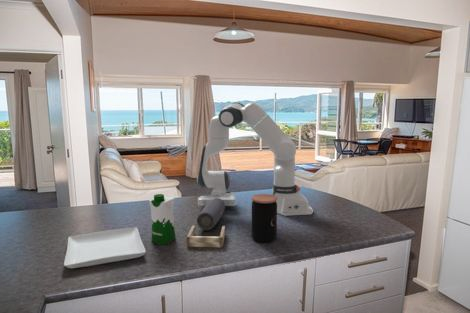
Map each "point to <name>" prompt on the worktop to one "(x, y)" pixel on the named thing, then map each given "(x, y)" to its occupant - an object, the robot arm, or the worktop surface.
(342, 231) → the worktop surface
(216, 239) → the birch bay
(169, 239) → the milk carton
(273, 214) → the coffee jar
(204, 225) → the bluetooth speaker
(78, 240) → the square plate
